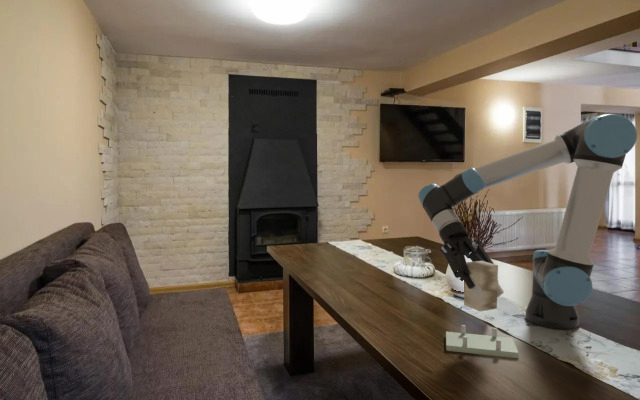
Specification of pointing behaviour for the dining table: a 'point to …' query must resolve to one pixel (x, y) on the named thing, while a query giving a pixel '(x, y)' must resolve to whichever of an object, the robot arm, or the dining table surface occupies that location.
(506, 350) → the peg board
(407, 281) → the dining table surface
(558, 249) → the robot arm
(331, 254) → the dining table surface
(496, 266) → the tan block
